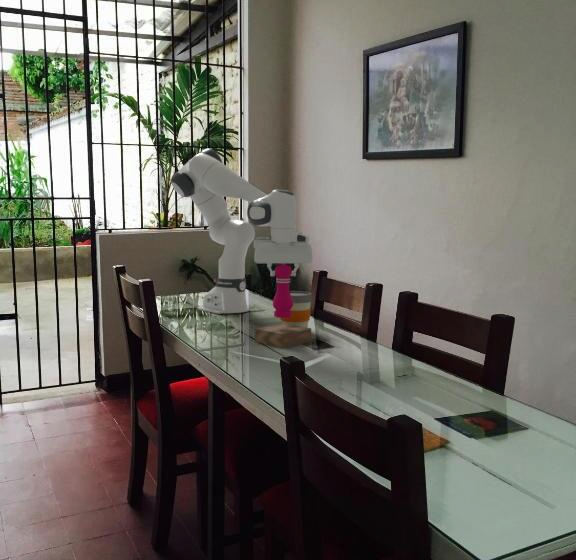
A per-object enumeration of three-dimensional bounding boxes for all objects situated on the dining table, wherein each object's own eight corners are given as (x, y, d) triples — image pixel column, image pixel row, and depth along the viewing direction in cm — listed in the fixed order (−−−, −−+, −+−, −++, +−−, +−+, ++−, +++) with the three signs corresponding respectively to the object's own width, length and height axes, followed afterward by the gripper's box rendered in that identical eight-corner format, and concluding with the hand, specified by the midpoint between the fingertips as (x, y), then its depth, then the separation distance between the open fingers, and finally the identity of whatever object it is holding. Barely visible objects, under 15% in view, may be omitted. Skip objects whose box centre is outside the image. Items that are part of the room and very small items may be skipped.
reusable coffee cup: (306, 328, 252) (306, 290, 250) (315, 335, 240) (316, 295, 238) (275, 330, 249) (275, 291, 247) (282, 336, 237) (282, 296, 235)
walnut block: (255, 342, 228) (255, 328, 228) (281, 336, 239) (281, 323, 238) (285, 348, 219) (285, 334, 219) (311, 342, 230) (311, 328, 229)
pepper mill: (269, 317, 226) (269, 260, 223) (277, 313, 233) (277, 258, 230) (289, 318, 223) (289, 261, 221) (296, 315, 230) (296, 259, 228)
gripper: (253, 237, 220) (253, 277, 222) (313, 237, 222) (312, 277, 224) (253, 235, 227) (252, 275, 228) (310, 236, 229) (310, 275, 230)
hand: (283, 276), depth 226 cm, fingers closed on pepper mill, 6 cm apart
